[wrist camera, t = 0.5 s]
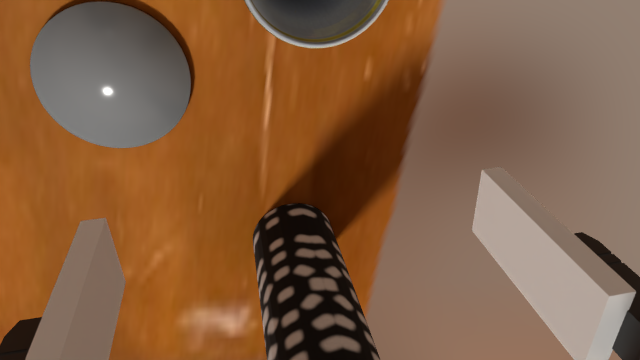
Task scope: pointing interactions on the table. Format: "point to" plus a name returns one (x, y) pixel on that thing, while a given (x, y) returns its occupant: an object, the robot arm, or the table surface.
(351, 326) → the spotted tube
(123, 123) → the grey round disc
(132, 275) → the table surface
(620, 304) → the robot arm
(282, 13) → the ceramic cup
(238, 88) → the table surface
